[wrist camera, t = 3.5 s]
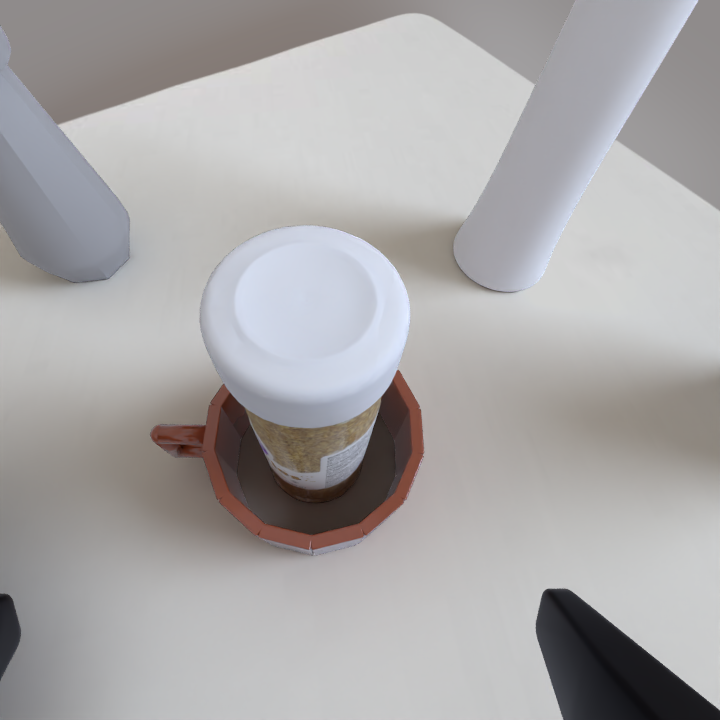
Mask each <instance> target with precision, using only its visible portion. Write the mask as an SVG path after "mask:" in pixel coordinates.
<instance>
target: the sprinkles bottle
mask: <svg viewBox="0 0 720 720" xmlns="http://www.w3.org/2000/svg"><path fill="white" fill-rule="evenodd" d="M409 326H410V304H409V298H408V295H407V291H406V288H405V286H404V283H403V281H402V279H401V277H400V275H399V273H398V272H397V270H396V269H395V267H394V266H393V265H392V264H391V263H390V261H389V260H388V259H387V258H386V257H385V256H384V255H383V254H382V253H381V252H380V251H379V250H377V249H376V248H375V247H373V246H372V245H370V244H369V243H367V242H366V241H364V240H362V239H360V238H359V237H356V236H354V235H352V234H349V233H346V232H344V231H341V230H337V229H333V228H328V227H323V226H311V225H302V226H288V227H282V228H278V229H274V230H270V231H267V232H264V233H262V234H259V235H257V236H255V237H253V238H251V239H249V240H247V241H245V242H244V243H242V244H240V245H239V246H238V247H236V248H235V249H233V250H232V251H231V252H230V253H229V254H228V255H227V256H226V257H225V258H224V259H223V260H222V261H221V262H220V263H219V264H218V265H217V267H216V268H215V269H214V271H213V272H212V274H211V276H210V278H209V280H208V282H207V284H206V287H205V289H204V292H203V296H202V300H201V306H200V327H201V333H202V337H203V341H204V343H205V346H206V348H207V351H208V353H209V355H210V358H211V360H212V362H213V364H214V366H215V368H216V370H217V372H218V374H219V375H220V377H221V379H222V381H223V383H224V384H225V386H226V388H227V389H228V390H229V392H230V393H231V394H232V395H233V396H234V397H235V399H236V400H237V401H238V402H239V403H240V404H241V405H243V406H244V408H245V410H246V412H247V414H248V417H249V421H250V424H251V426H252V428H253V430H254V432H255V434H256V437H257V439H258V441H259V443H260V445H261V447H262V449H263V452H264V454H265V456H266V458H267V460H268V462H269V464H270V468H271V471H272V473H273V476H274V478H275V480H276V482H277V483H278V484H279V486H280V487H281V488H282V489H283V490H284V491H285V492H286V493H288V494H289V495H291V496H292V497H294V498H296V499H298V500H300V501H305V502H311V503H317V502H325V501H329V500H332V499H334V498H337V497H339V496H341V495H343V494H344V493H345V492H346V491H347V490H348V489H349V488H350V487H351V486H352V485H353V484H354V482H355V481H356V479H357V478H358V476H359V473H360V471H361V467H362V459H363V457H364V454H365V452H366V448H367V446H368V443H369V440H370V436H371V433H372V430H373V427H374V424H375V421H376V417H377V414H378V411H379V408H380V403H381V396H382V395H383V394H384V393H385V391H386V390H387V388H388V387H389V386H390V384H391V382H392V380H393V378H394V376H395V374H396V371H397V368H398V365H399V362H400V359H401V356H402V353H403V350H404V346H405V343H406V340H407V337H408V332H409Z"/></svg>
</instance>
